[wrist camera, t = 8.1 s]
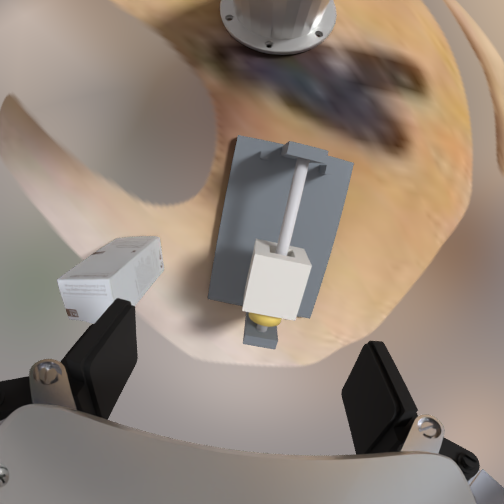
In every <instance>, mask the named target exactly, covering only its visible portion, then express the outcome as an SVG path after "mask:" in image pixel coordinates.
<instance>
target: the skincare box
mask: <svg viewBox="0 0 504 504" xmlns="http://www.w3.org/2000/svg"><path fill="white" fill-rule="evenodd" d="M163 271H164V264H163V257H162V249H161V242H160V237H157V236H137V237H124V238H117V239H115V240H113V241H111V242H110V243H108V244H107V245H105V246H104V247H102V248H101V249H99V250H98V251H96V252H95V253H93V254H92V255H90V256H89V257H88V258H86V259H85V260H83V261H82V262H80V263H79V264H77V265H76V266H75V267H73V268H72V269H71V270H69V271H68V272H67V273H65V274H64V275H62V276H61V277H60V278H58V279H57V282H58V286H59V290H60V293H61V296H62V300H63V303H64V306H65V309H66V312H67V314H68V318H69V319H71V320H80V321H86V322H89V323H95V322H96V321H97V320H98V319H99V318H100V317H101V315H102V314H103V313H104V312H105V311H106V310H107V308H108V307H109V306H110V305H111V304H112V303H113V302H114V300H115V299H116V298H120V299H124V300H128V301H130V302H131V305H133V306H135V305H136V304H137V303H138V302H139V300H140V299H141V298H142V297H143V295H144V294H145V293H146V292H147V290H148V289H149V288H150V287H151V285H152V284H153V283H154V282H155V281H156V279H157V278H158V277H159V276H160V275H161V273H162V272H163Z"/></svg>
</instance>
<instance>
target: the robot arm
mask: <svg viewBox="0 0 504 504" xmlns="http://www.w3.org/2000/svg"><path fill="white" fill-rule="evenodd" d="M220 15H221V18H222V22H223V24H224V26H225V28H226V30H227V31H228V32H229V33H230V34H231V36H232V37H234V38H235V39H236V40H237V41H238V42H240V43H241V44H243V45H245V46H247V47H248V48H251V49H254V50H256V51H259V52H264V53H268V54H277V55H288V54H296V53H301V52H305V51H307V50H310V49H313V48H314V47H316V46H318V45H319V44H321V43H322V42H323V41H324V40H325V39H326V38H327V37H328V36H329V34H330V33H331V31H332V29H333V27H334V25H335V22H336V16H337V15H336V7H335V4H334V1H333V0H221V3H220ZM228 20H231V21H228ZM316 35H317V36H319V37H317V36H316ZM267 46H271V48H267ZM136 362H137V341H136V321H135V306H133V305H131V302H130V301H128V300H124V299H120V298H116V299H115V300H114V302H113V303H112V304H111V305H110V306H109V307H108V308H107V310H106V311H105V312H104V313H103V314H102V315H101V317H100V318H99V319H98V320H97V321H96V322H95V324H92V325H91V326H89V328H88V329H87V330H86V331H85V332H84V334H83V335H82V336H81V337H80V338H79V340H78V341H77V342H76V343H75V344H74V346H73V347H72V348H71V349H70V351H69V352H68V353H67V354H66V355H65V357H64V358H63V359H62V360H61V362H59V361H57V360H54V359H43V360H40V361H38V362H36V363H35V364H34V365H33V366H32V367H31V369H30V371H29V376H28V377H23V378H18V379H12V380H6V381H1V382H0V504H504V488H503V487H502V486H501V485H500V484H499V483H498V482H497V481H495V480H494V479H493V478H492V477H491V476H490V475H489V474H488V473H487V472H485V471H484V470H483V469H482V470H481V471H479V466H480V465H479V461H478V459H477V457H476V456H475V455H474V454H473V453H472V452H470V451H468V450H466V449H464V448H462V447H461V446H459V445H457V444H455V443H453V442H451V441H450V440H448V439H446V438H444V426H443V425H442V423H441V422H440V421H439V420H438V419H437V418H435V417H434V416H431V415H427V414H424V415H420V416H418V415H417V413H416V412H417V411H418V409H417V407H416V405H415V403H414V401H413V399H412V397H411V395H410V393H409V391H408V389H407V387H406V385H405V383H404V381H403V379H402V377H401V375H400V373H399V371H398V369H397V367H396V365H395V363H394V361H393V359H392V357H391V355H390V354H389V352H388V350H387V348H386V346H385V344H384V343H383V342H380V341H369V342H368V343H367V344H365V345H364V346H363V348H362V350H361V352H360V354H359V357H358V359H357V361H356V363H355V365H354V367H353V369H352V371H351V373H350V375H349V377H348V379H347V381H346V383H345V385H344V387H343V389H342V399H343V403H344V406H345V411H346V415H347V418H348V422H349V427H350V431H351V435H352V439H353V443H354V447H355V451H356V455H333V456H308V455H307V456H306V455H282V454H269V453H256V452H247V451H239V450H232V449H225V448H219V447H212V446H207V445H201V444H196V443H191V442H186V441H182V440H176V439H173V438H169V437H164V436H160V435H156V434H153V433H149V432H146V431H142V430H139V429H135V428H132V427H128V426H125V425H121V424H118V423H115V422H112V421H109V420H108V418H109V416H110V414H111V412H112V410H113V407H114V406H115V404H116V402H117V400H118V398H119V396H120V394H121V392H122V390H123V388H124V386H125V384H126V382H127V380H128V378H129V376H130V375H131V373H132V371H133V369H134V367H135V365H136Z"/></svg>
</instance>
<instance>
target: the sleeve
mask: <svg viewBox="0 0 504 504" xmlns="http://www.w3.org/2000/svg"><path fill="white" fill-rule="evenodd" d="M277 244H278V243H275V242H270V241H265V240H261V239H256V241H255V245H254V250H253V254H252V259H251V263H250V268H249V273H248V277H247V282H246V286H245V293H244V300H243V308H242V311H245V312H251V313H256V314H261V315H266V316H272V317H277V318H283V319H288V320H294V321H295V320H296V317H297V313H298V310H299V307H300V304H301V301H302V297H303V294H304V291H305V287H306V284H307V281H308V277H309V274H310V270H311V267H312V265H311V263H310V261H309V258H308V256H307V254H306V252H305V250H304V249H303V248H298V247H294V246H289V249H288V253H287V256H285V255H280V254H275V252H276V248H277Z"/></svg>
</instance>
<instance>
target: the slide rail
mask: <svg viewBox="0 0 504 504" xmlns="http://www.w3.org/2000/svg"><path fill="white" fill-rule="evenodd" d="M327 155H328V151H326V150H323V149H319V148H315V147H311V146H308V145H304V144H300V143H295V142H291V141H289V142H288V143H286V144H285V145H283V144H279V143H274V142H270V141H265V140H260V139H255V138H250V137H245V136H240V135H238V138H237V143H236V147H235V152H234V157H233V162H232V167H231V172H230V177H229V182H228V187H227V192H226V197H225V202H224V207H223V213H222V218H221V223H220V229H219V234H218V240H217V246H216V251H215V257H214V263H213V269H212V275H211V281H210V287H209V293H208V299H211V300H216V301H220V302H225V303H230V304H235V305H240V306H243V300H244V293H245V286H246V282H247V277H248V273H249V268H250V263H251V259H252V254H253V250H254V245H255V241H256V239H261V240H265V241H270V242H275V243H278V244H277V248H276V252H275V254H280V255H285V256H287V253H288V249H289V246H294V247H298V248H303V249H304V250H305V252H306V254H307V256H308V258H309V261H310V263H311V265H312V267H311V270H310V274H309V277H308V281H307V284H306V287H305V291H304V294H303V297H302V301H301V304H300V307H299V310H298V313H297V316H298V317H304V318H310V317H311V314H312V311H313V308H314V305H315V302H316V299H317V296H318V293H319V289H320V286H321V283H322V280H323V277H324V273H325V270H326V267H327V264H328V260H329V257H330V253H331V250H332V246H333V243H334V239H335V236H336V232H337V229H338V225H339V221H340V218H341V214H342V210H343V206H344V202H345V198H346V194H347V190H348V186H349V182H350V178H351V173H352V169H353V165H354V163H352V162H348V161H345V160H341V159H338V158H334V157H331V156H327ZM281 319H282V318H277V317H272V316H266V315H261V314H256V313H251V312H246V319H245V328H244V338H243V344H247V345H252V346H258V347H264V348H270V349H276V345H277V342H278V335H277V325H279V324H280V322H281Z"/></svg>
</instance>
